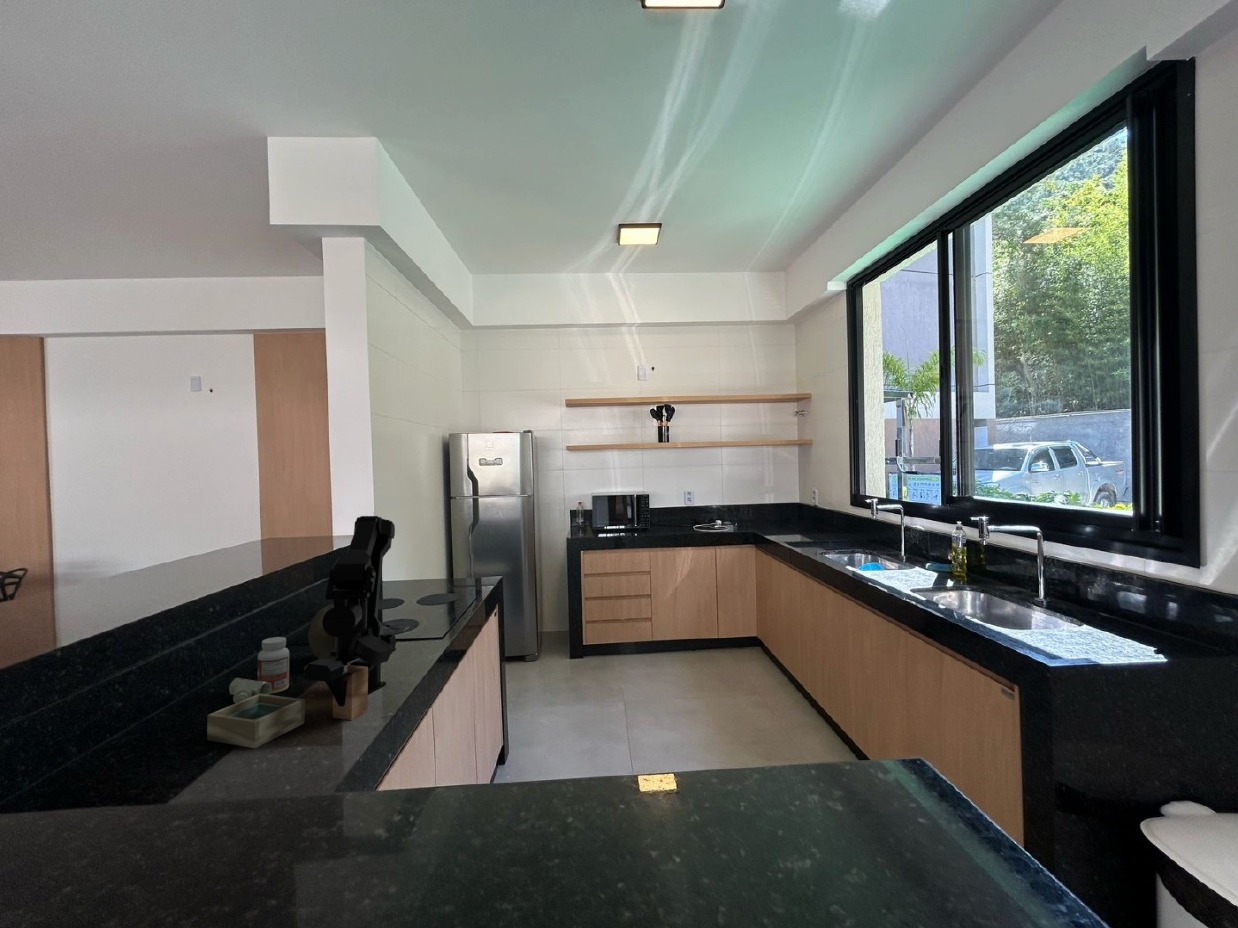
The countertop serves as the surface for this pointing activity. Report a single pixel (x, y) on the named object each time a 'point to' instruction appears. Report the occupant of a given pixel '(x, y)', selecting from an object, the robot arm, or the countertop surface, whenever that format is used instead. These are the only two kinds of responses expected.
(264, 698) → the socket box
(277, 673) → the pill bottle
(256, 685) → the pipe fitting
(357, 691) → the peg
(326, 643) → the cantaloupe
